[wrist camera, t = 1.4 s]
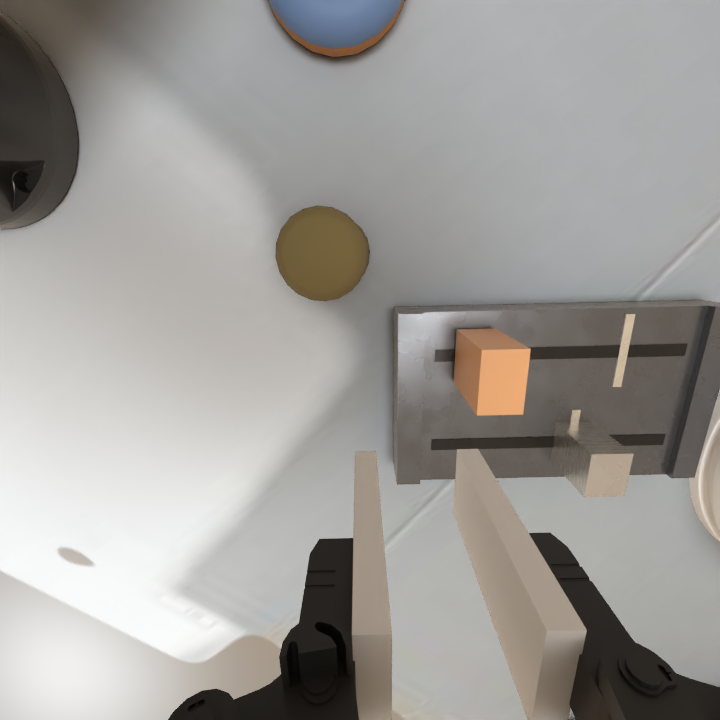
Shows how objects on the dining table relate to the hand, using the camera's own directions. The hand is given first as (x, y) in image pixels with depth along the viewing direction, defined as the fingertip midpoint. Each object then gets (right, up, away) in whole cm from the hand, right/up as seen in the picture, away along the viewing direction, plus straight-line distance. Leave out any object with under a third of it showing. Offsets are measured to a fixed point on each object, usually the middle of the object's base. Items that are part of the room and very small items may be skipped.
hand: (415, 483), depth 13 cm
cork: (-4, +13, +17) cm, 22 cm away
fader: (+7, +5, +15) cm, 18 cm away
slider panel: (+14, +2, +20) cm, 24 cm away
